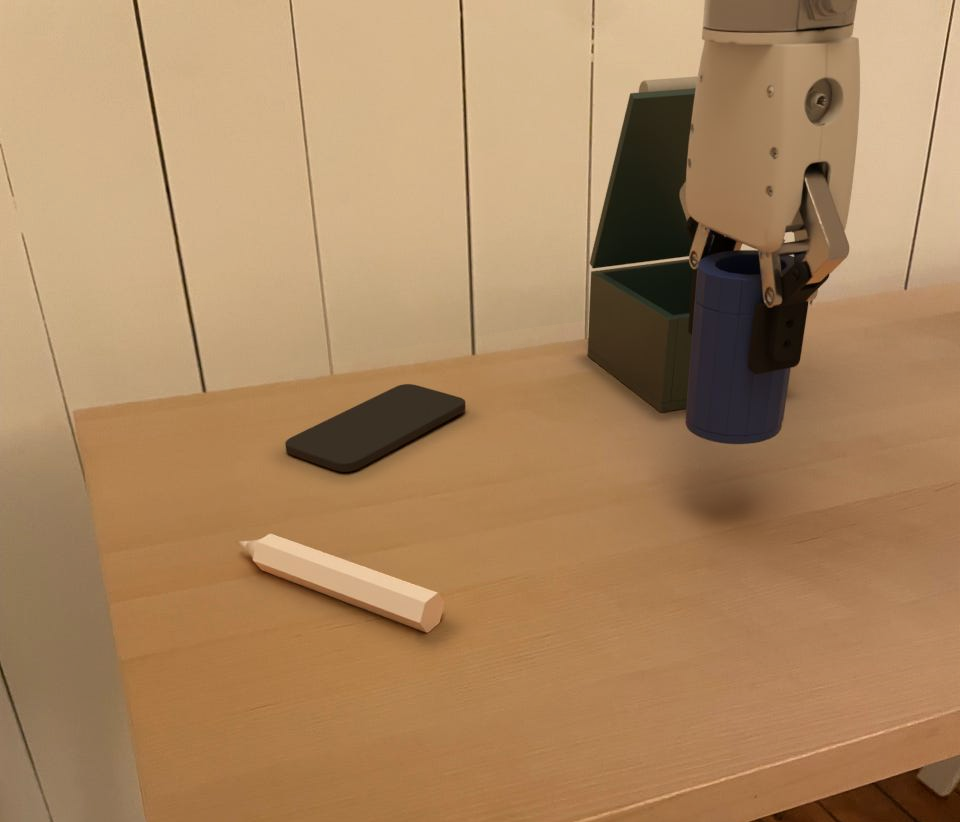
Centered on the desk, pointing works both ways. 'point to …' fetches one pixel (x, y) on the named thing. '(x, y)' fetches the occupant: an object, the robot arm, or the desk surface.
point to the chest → (644, 329)
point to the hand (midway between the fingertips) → (741, 347)
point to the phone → (374, 427)
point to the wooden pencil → (347, 581)
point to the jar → (731, 355)
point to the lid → (648, 178)
